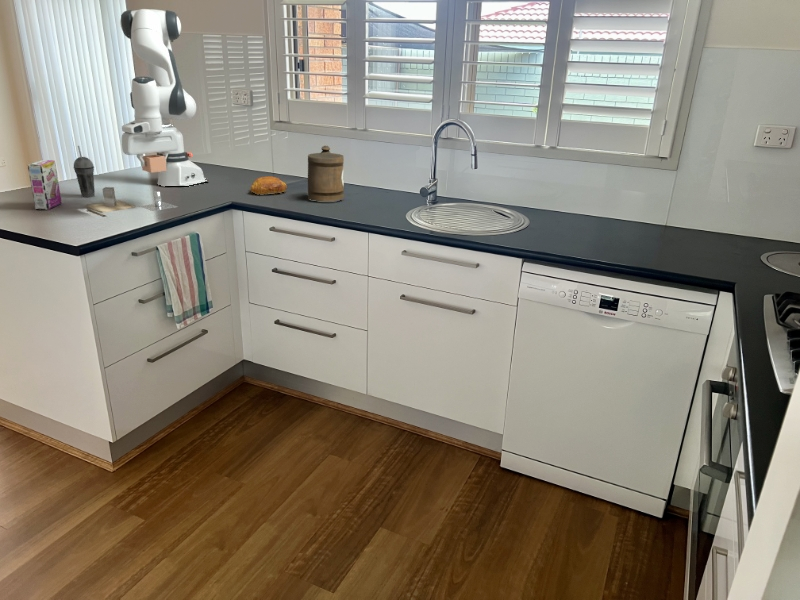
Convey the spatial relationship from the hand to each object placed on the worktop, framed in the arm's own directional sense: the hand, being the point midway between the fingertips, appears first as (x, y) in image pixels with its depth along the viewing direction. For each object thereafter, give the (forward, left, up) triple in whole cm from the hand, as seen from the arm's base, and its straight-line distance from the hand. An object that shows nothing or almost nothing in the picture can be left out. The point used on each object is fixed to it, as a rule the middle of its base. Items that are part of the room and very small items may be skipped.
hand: (153, 165), depth 216 cm
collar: (0, 0, -2) cm, 2 cm away
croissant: (-50, +1, -17) cm, 53 cm away
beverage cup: (+8, -39, -17) cm, 43 cm away
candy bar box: (+26, -31, -17) cm, 44 cm away
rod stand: (0, 0, -17) cm, 17 cm away
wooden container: (-60, +27, -17) cm, 68 cm away
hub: (+13, -10, -17) cm, 23 cm away
